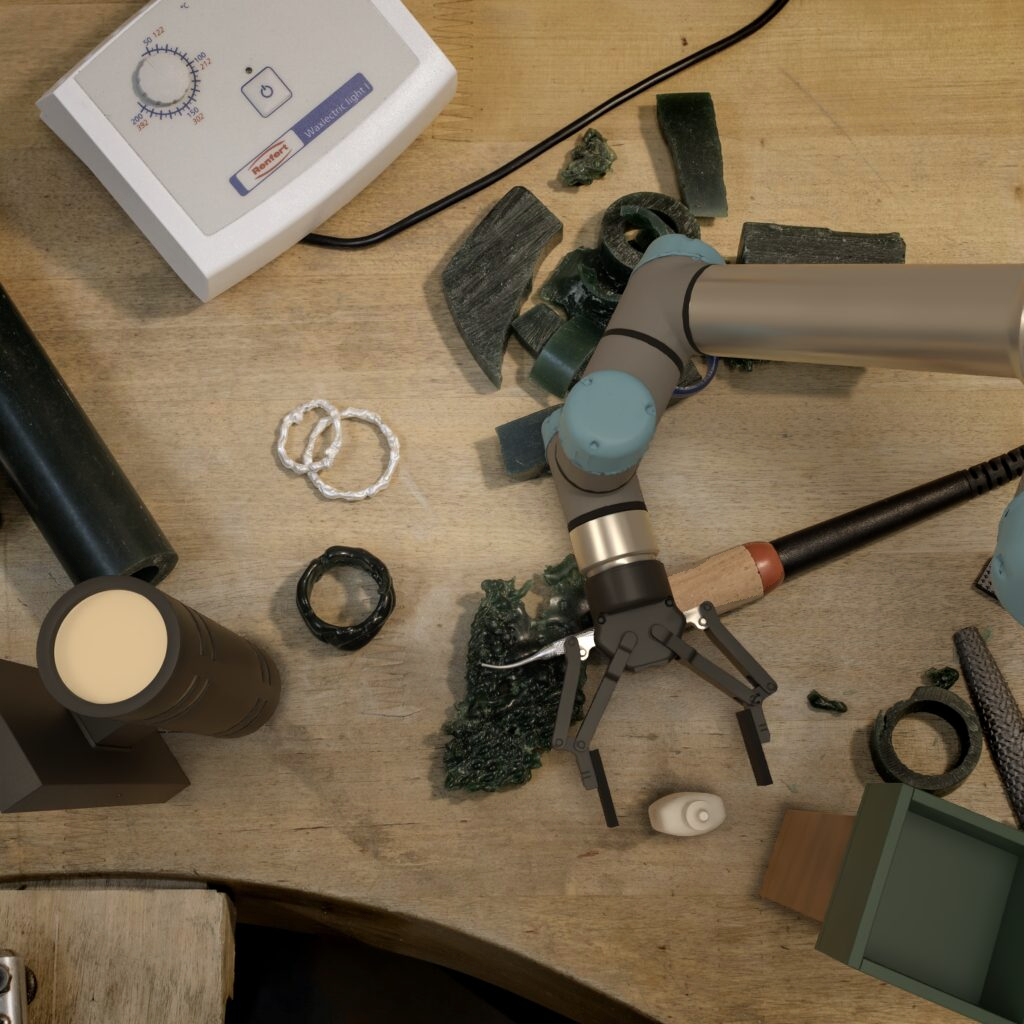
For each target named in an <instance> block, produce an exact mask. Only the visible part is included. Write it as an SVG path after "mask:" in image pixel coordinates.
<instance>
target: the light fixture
mask: <svg viewBox="0 0 1024 1024" xmlns="http://www.w3.org/2000/svg"><path fill="white" fill-rule="evenodd" d="M35 658H36V666H37V667H36V666H32V665H28V664H24V663H20V662H17V661H16V662H15V661H12V660H9V659H8V660H7V659H4V658H0V813H1V814H2V815H4V814H5V815H6V814H20V813H21V814H22V813H33V812H34V813H35V812H49V811H65V810H79V809H83V810H84V809H95V808H96V809H97V808H113V807H127V806H129V807H130V806H141V805H142V806H143V805H156V804H157V805H159V804H166V803H167V802H168V801H170V800H171V799H172V798H174V797H175V796H177V795H178V794H180V793H182V792H183V791H185V789H187V788H188V787H190V786H191V785H192V783H191V781H190V779H189V778H188V776H187V775H186V772H185V771H184V769H183V768H182V767H181V765H180V763H179V761H178V760H177V759H176V757H175V755H174V753H173V752H172V750H171V749H170V747H169V745H168V744H167V742H166V740H165V739H164V738H163V736H162V734H161V733H160V731H159V729H163V730H164V729H165V730H169V731H175V732H181V733H187V734H194V735H199V736H200V735H201V736H206V737H212V738H217V739H226V740H228V739H229V740H231V739H239V738H244V737H246V736H249V735H251V734H253V733H255V732H256V731H258V730H260V729H261V728H262V727H263V726H264V725H265V724H266V723H267V722H268V721H269V720H270V719H271V717H272V716H273V715H274V714H275V711H276V709H277V707H278V706H279V702H280V698H281V693H282V680H281V674H280V671H279V668H278V666H277V664H276V662H275V661H274V660H273V658H272V657H271V656H270V654H269V653H268V652H267V651H265V650H264V649H263V648H262V647H260V646H258V645H256V644H255V643H253V642H251V641H250V640H248V639H246V638H244V637H243V636H241V635H239V634H237V633H235V632H234V631H232V630H231V629H229V628H227V627H225V626H224V625H222V624H221V623H218V622H217V621H215V620H213V619H212V618H209V617H208V616H206V615H205V614H203V613H201V612H199V611H198V610H196V609H194V608H192V607H191V606H189V605H187V604H185V603H184V602H182V601H180V600H179V599H177V598H175V597H173V596H171V595H170V594H168V593H167V592H165V591H162V589H159V588H157V587H156V586H155V585H153V584H151V583H149V582H147V581H145V580H143V579H141V578H139V577H134V576H131V575H125V574H106V575H101V576H100V575H98V576H95V577H92V578H89V579H87V580H84V581H82V582H79V583H78V584H76V585H74V586H73V587H71V588H70V589H68V590H67V591H66V592H65V593H63V594H62V595H61V596H60V597H59V598H58V599H57V600H56V601H55V602H54V604H53V605H52V606H51V607H50V609H49V610H48V612H47V613H46V615H45V617H44V619H43V621H42V624H41V626H40V628H39V632H38V634H37V639H36V647H35Z"/></svg>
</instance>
